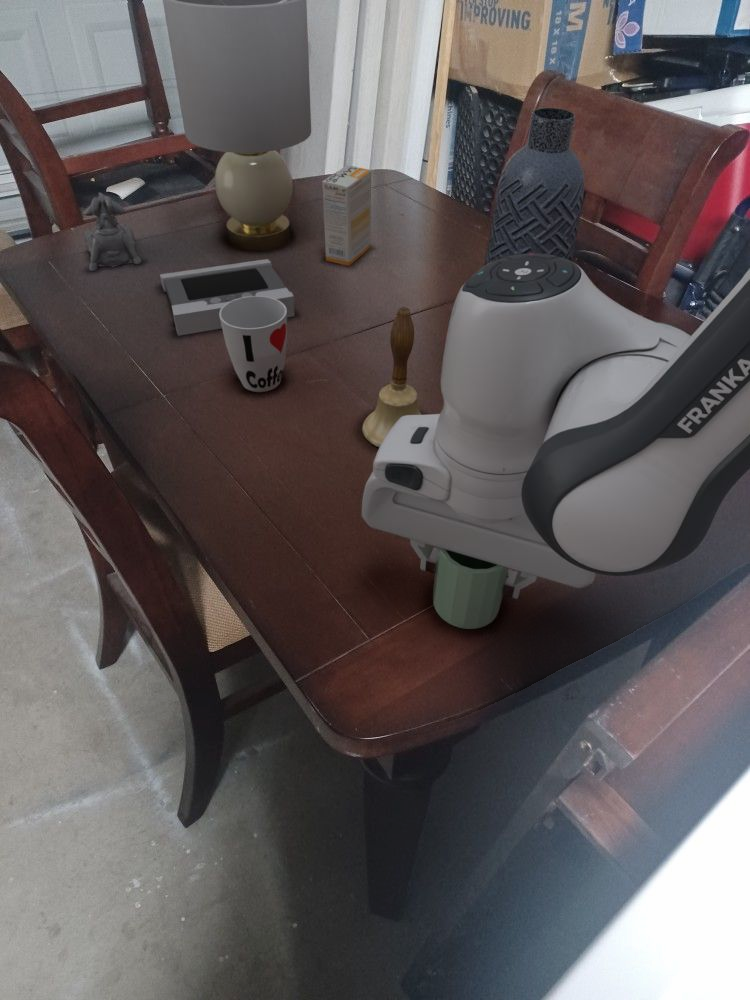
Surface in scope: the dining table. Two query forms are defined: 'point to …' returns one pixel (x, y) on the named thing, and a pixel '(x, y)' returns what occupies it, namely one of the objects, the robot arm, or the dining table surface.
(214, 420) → the dining table surface
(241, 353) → the cup
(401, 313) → the hand bell
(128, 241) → the figurine
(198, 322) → the alarm clock
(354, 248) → the supplement box
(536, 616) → the dining table surface
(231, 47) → the lamp
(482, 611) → the sage cup
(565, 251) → the vase
